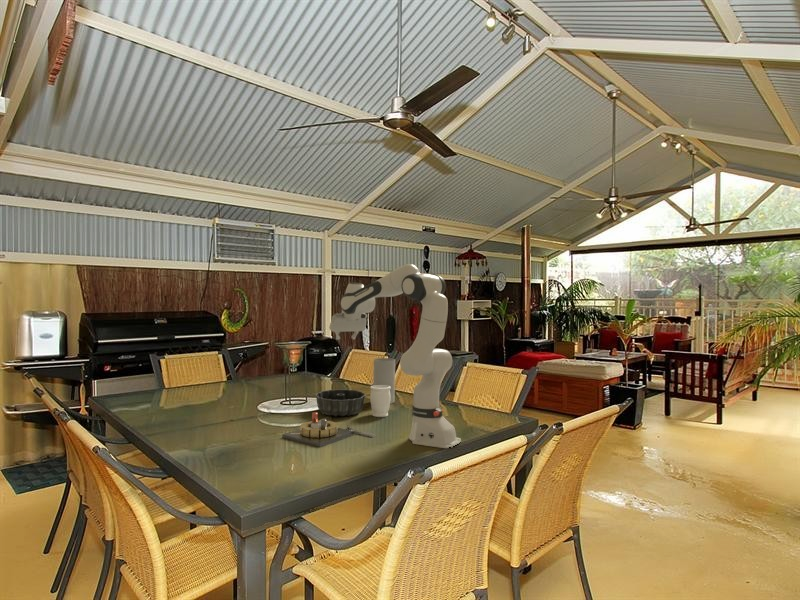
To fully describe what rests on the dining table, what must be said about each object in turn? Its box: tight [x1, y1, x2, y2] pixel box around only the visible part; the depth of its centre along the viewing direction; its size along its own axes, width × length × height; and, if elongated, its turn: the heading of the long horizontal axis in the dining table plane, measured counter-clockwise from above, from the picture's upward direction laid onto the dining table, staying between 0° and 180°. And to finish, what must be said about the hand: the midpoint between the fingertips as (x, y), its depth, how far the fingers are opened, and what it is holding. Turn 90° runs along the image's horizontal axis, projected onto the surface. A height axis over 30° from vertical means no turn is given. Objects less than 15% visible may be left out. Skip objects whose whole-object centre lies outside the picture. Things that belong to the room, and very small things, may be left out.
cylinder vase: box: [372, 357, 396, 405], centre depth 277 cm, size 12×12×25 cm
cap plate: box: [281, 422, 355, 448], centre depth 208 cm, size 22×22×6 cm
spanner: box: [345, 425, 376, 438], centre depth 213 cm, size 16×3×3 cm, turn 57°
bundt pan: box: [314, 388, 367, 418], centre depth 251 cm, size 26×26×10 cm
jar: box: [369, 385, 391, 418], centre depth 247 cm, size 11×10×15 cm
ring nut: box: [299, 411, 339, 438], centre depth 208 cm, size 16×16×7 cm
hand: (345, 339), depth 243 cm, fingers open, 8 cm apart
